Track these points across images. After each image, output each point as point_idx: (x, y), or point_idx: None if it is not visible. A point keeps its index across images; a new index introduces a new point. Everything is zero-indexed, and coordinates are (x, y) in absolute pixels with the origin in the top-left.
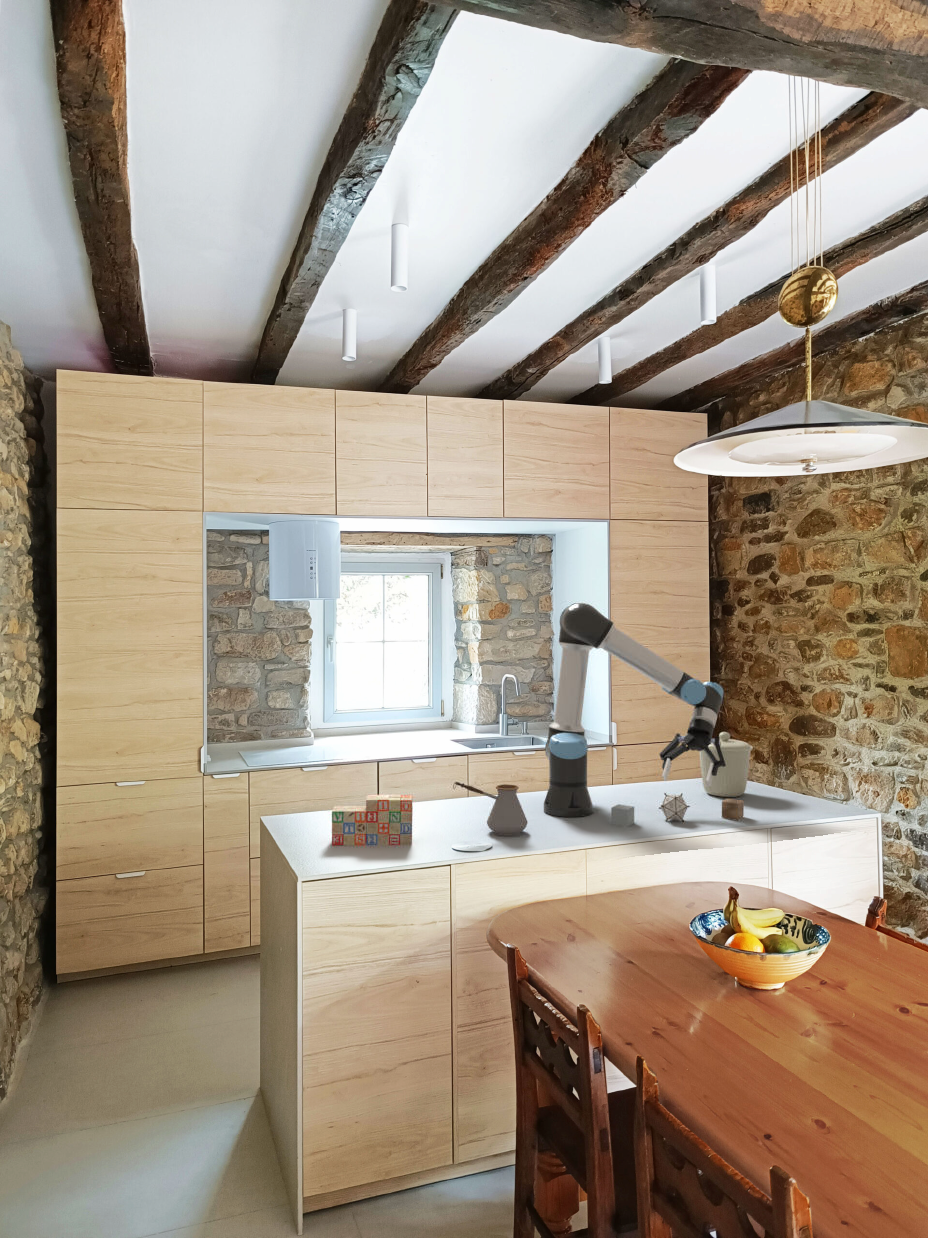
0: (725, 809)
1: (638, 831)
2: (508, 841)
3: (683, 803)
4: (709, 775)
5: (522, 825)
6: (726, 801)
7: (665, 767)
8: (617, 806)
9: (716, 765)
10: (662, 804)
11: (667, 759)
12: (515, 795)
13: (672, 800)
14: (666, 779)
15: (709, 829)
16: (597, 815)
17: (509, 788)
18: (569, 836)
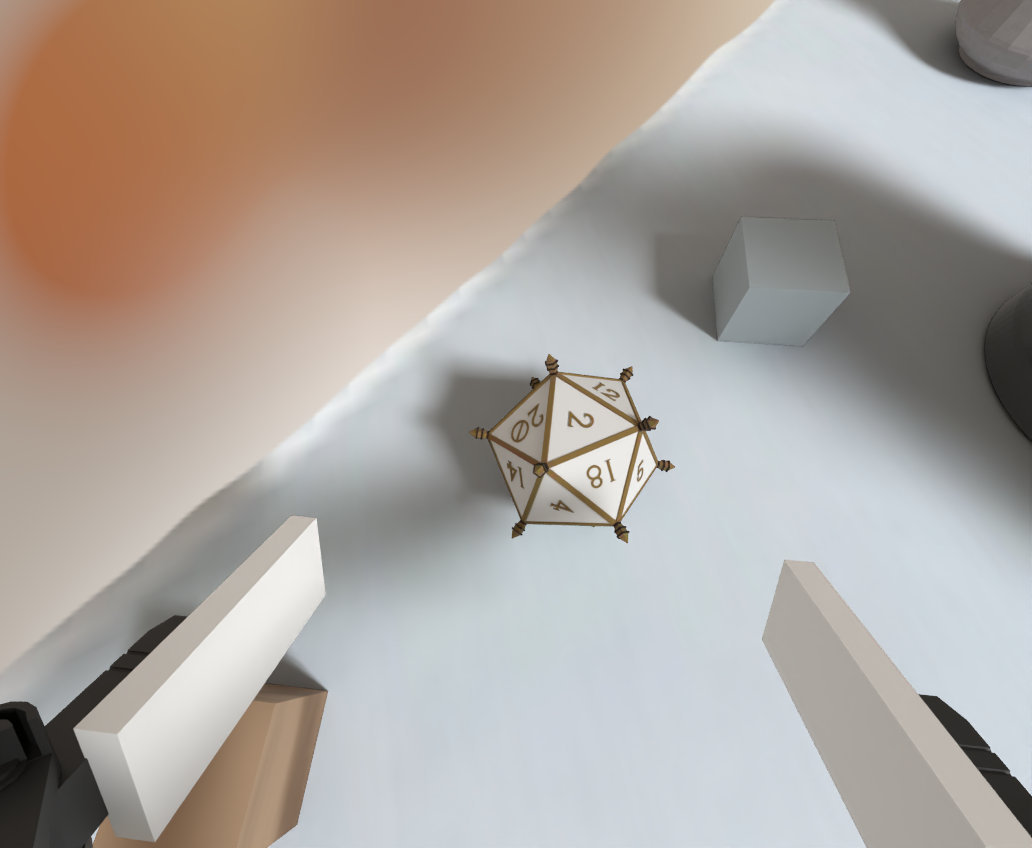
0: (276, 693)
1: (641, 243)
2: (921, 6)
3: (507, 415)
4: (252, 555)
5: (962, 5)
6: (238, 726)
7: (870, 653)
8: (823, 248)
9: (52, 733)
10: (653, 452)
11: (1004, 817)
12: None
13: (570, 374)
14: (769, 638)
15: (373, 402)
16: (954, 391)
17: None
18: (814, 101)
